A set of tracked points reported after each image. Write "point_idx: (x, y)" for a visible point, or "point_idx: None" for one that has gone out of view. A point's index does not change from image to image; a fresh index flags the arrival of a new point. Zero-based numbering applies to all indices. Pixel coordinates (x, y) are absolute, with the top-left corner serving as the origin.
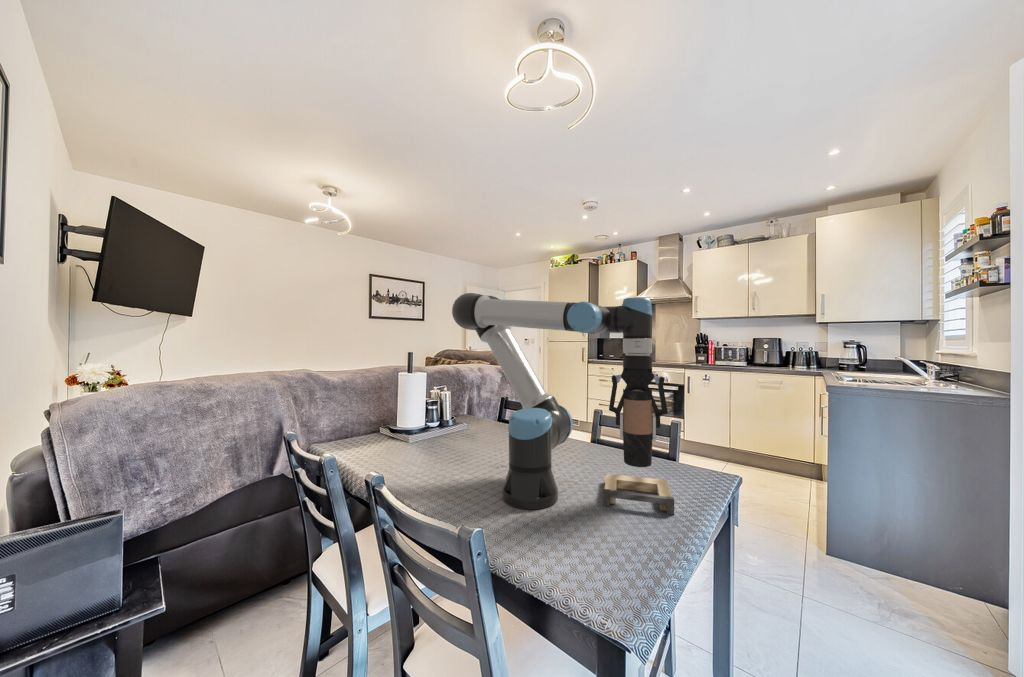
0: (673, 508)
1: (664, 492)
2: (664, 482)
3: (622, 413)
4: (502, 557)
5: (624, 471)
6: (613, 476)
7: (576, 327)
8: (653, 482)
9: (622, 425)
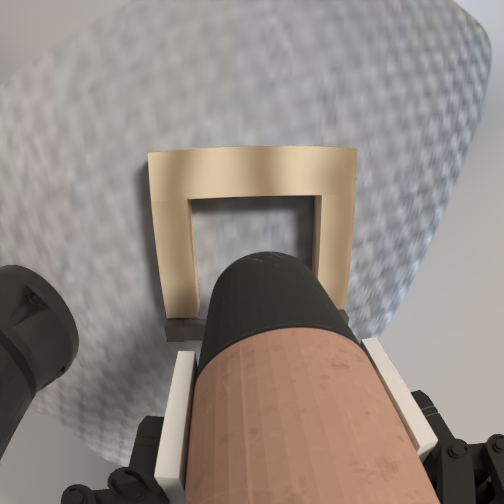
0: None
1: (334, 257)
2: (346, 173)
3: (180, 489)
4: (105, 456)
5: (211, 30)
6: (173, 172)
7: None
8: (311, 184)
9: None
